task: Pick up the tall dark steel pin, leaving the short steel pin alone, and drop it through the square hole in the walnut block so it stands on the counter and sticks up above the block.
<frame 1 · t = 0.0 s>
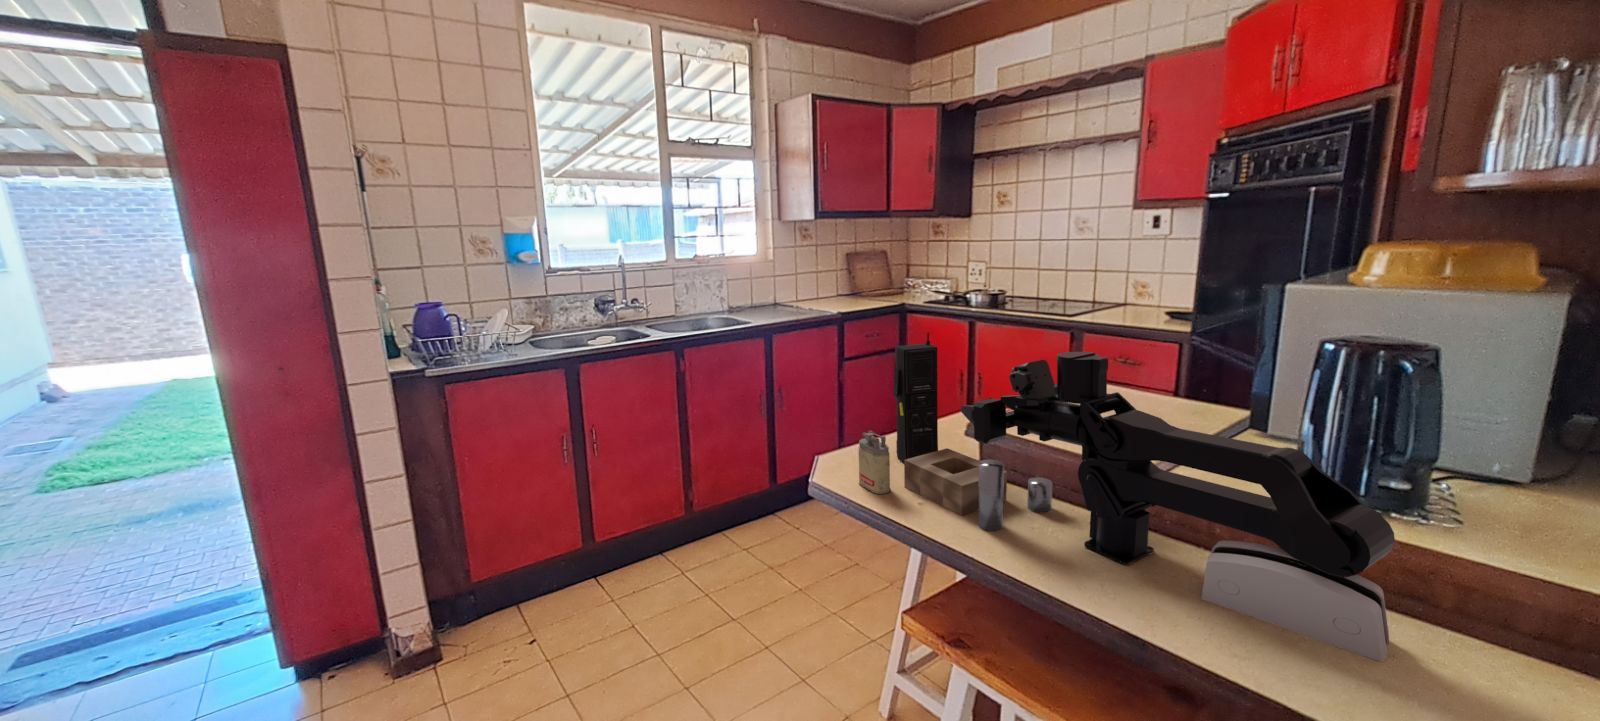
hand: (982, 404, 107), 15 cm above the counter, tool horizontal, fingers open, 9 cm apart
lighter: (875, 487, 113), on the counter
grey curved block: (1286, 625, 71), on the counter, touching arm
short pin: (1039, 508, 102), on the counter
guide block: (953, 493, 109), on the counter
portable radio: (914, 460, 125), on the counter
tall pin: (990, 525, 97), on the counter
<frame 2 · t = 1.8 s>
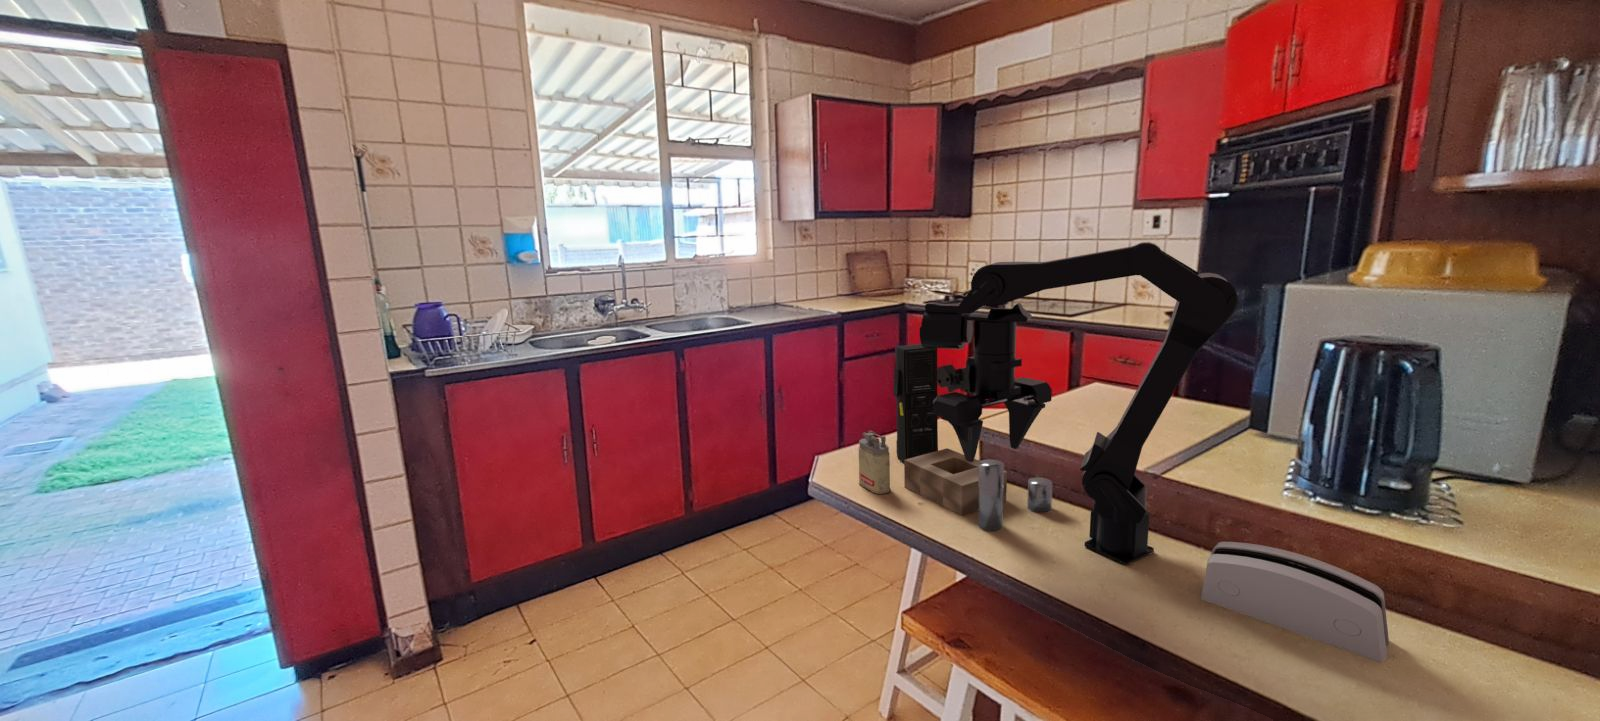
hand: (992, 454, 94), 11 cm above the counter, tool pointing down, fingers open, 9 cm apart
grey curved block: (1285, 626, 71), on the counter
everything else where it was.
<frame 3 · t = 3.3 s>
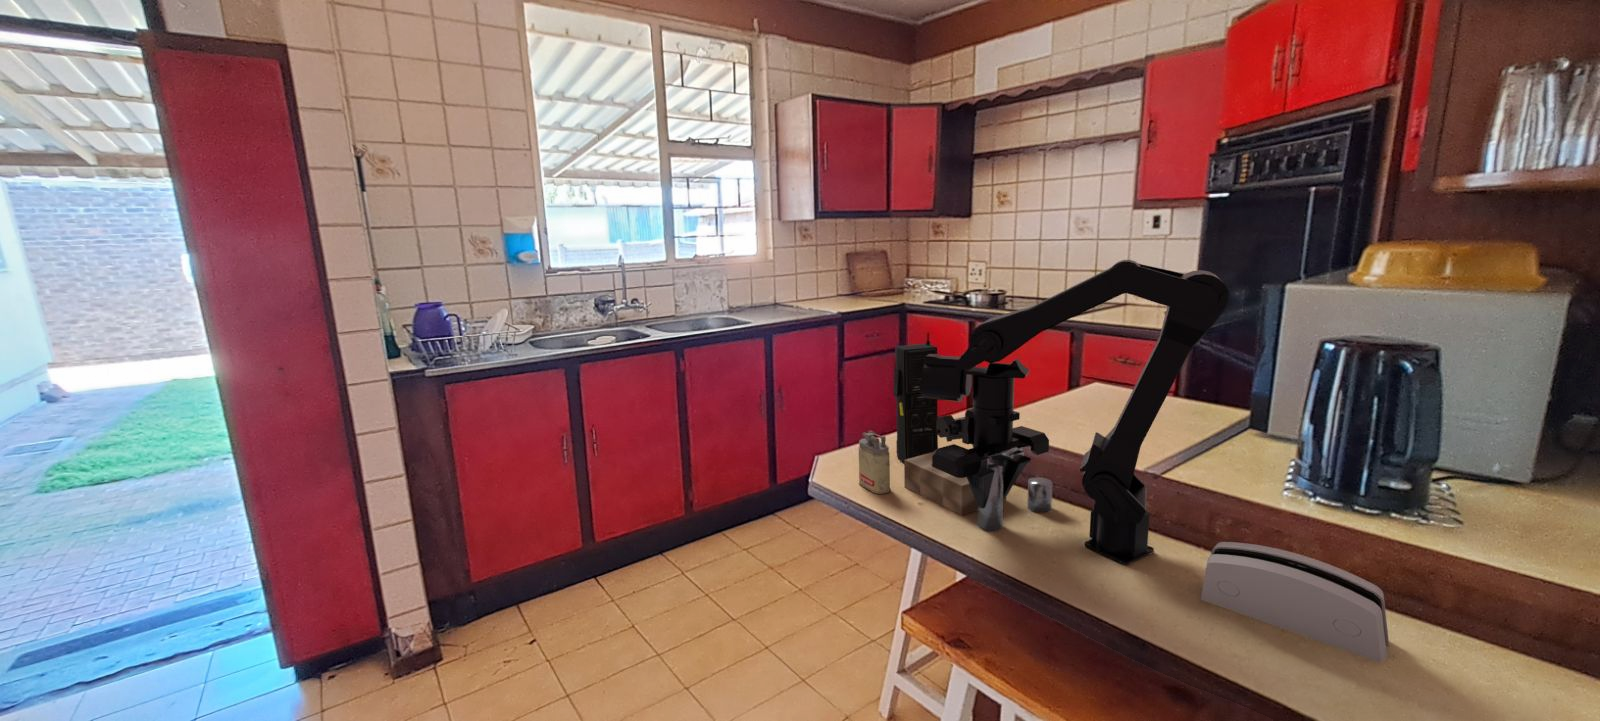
hand: (990, 504, 96), 4 cm above the counter, tool pointing down, fingers closed on tall pin, 4 cm apart
tall pin: (989, 525, 97), on the counter, touching gripper
everything else where it was.
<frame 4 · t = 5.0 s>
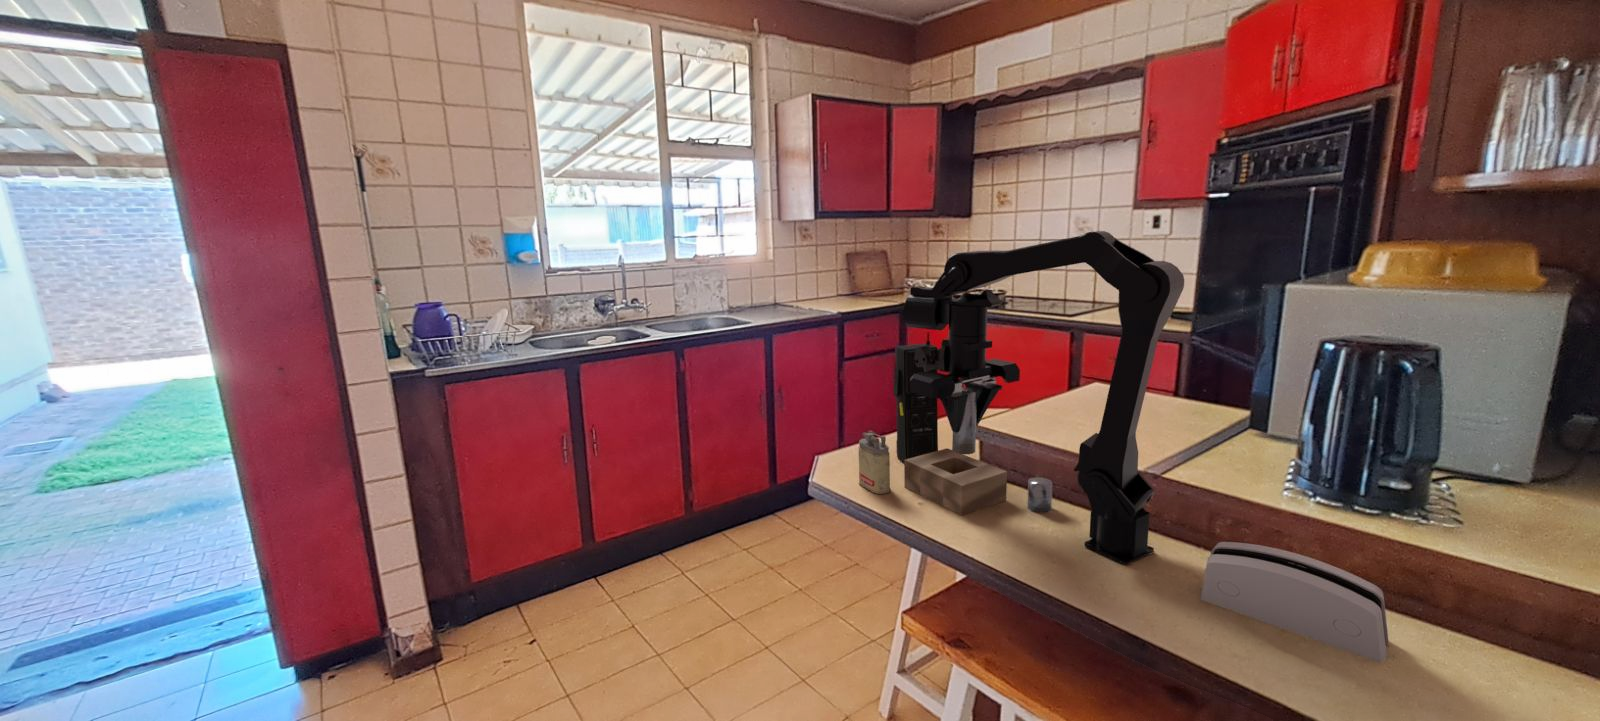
hand: (964, 429, 102), 13 cm above the counter, tool pointing down, fingers closed on tall pin, 4 cm apart
tall pin: (963, 450, 103), point 9 cm above the counter, touching gripper
everything else where it was.
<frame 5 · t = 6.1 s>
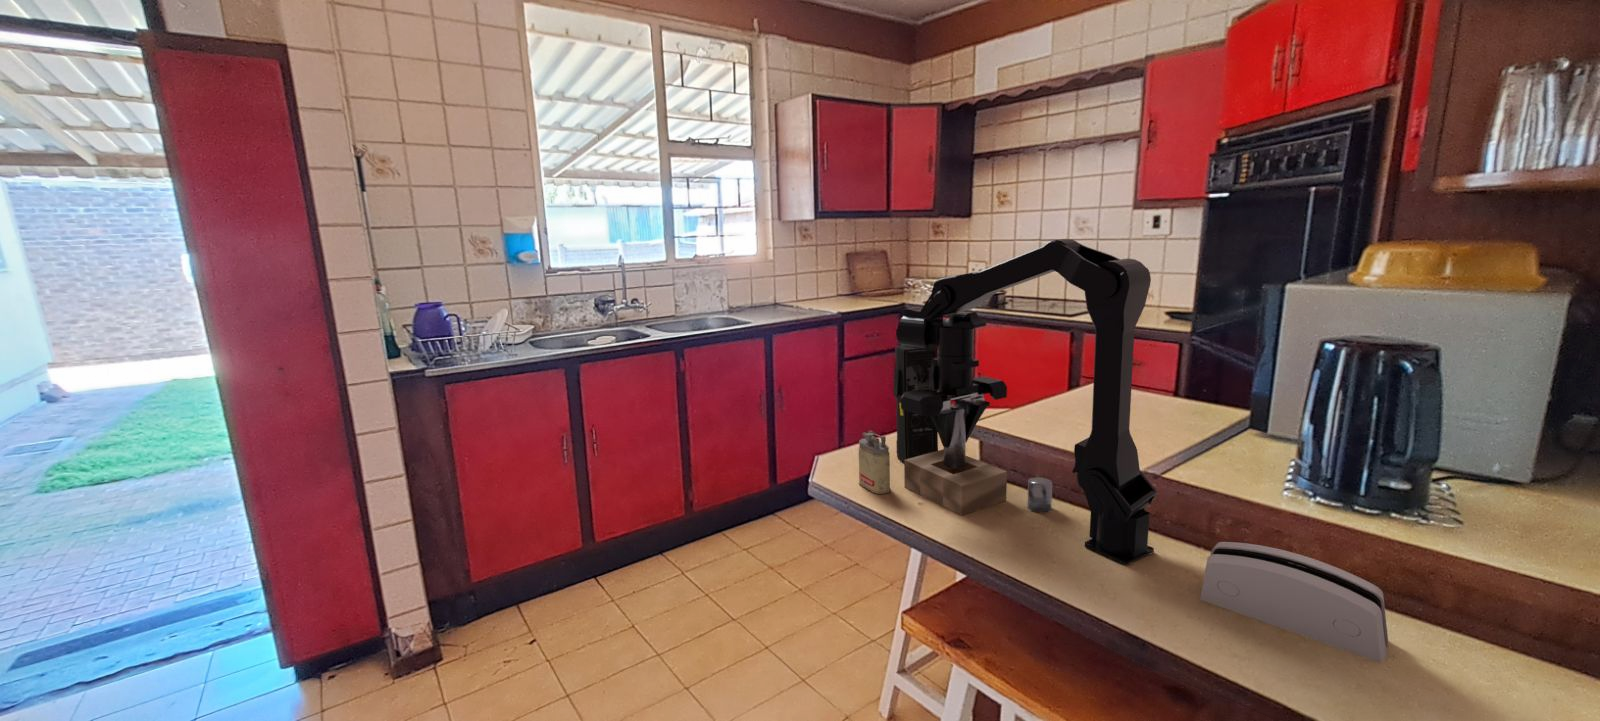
hand: (954, 444, 107), 9 cm above the counter, tool pointing down, fingers closed on tall pin, 4 cm apart
tall pin: (954, 464, 108), point 5 cm above the counter, touching gripper
everything else where it was.
when the fingers open (6 cm above the counter, at t = 7.0 s): tall pin drops 2 cm, resting in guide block.
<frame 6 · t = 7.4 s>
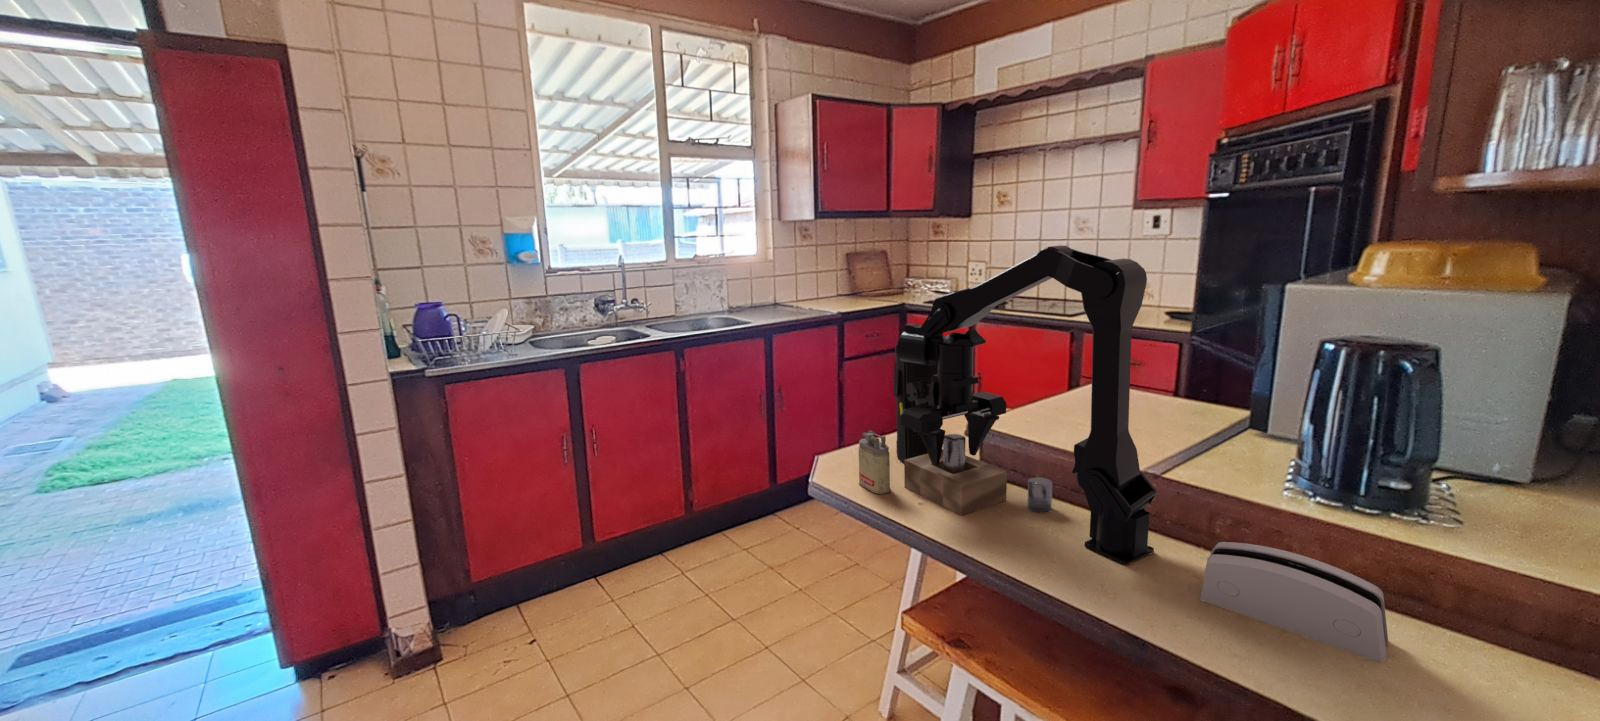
hand: (954, 460, 108), 6 cm above the counter, tool pointing down, fingers open, 8 cm apart
tall pin: (953, 493, 109), resting in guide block
everything else where it was.
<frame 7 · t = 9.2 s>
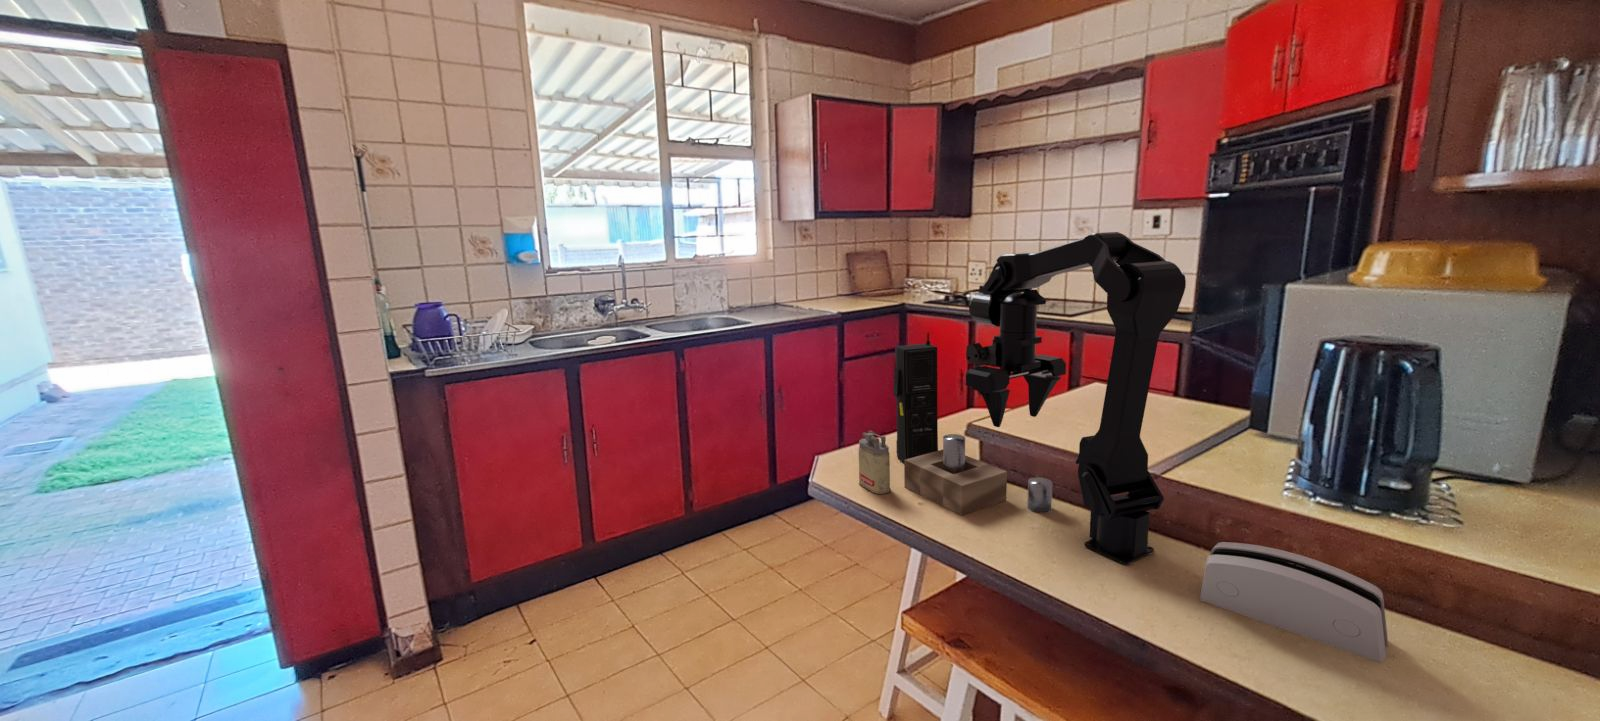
hand: (1015, 421, 108), 12 cm above the counter, tool pointing down, fingers open, 9 cm apart
nothing on the counter moved.
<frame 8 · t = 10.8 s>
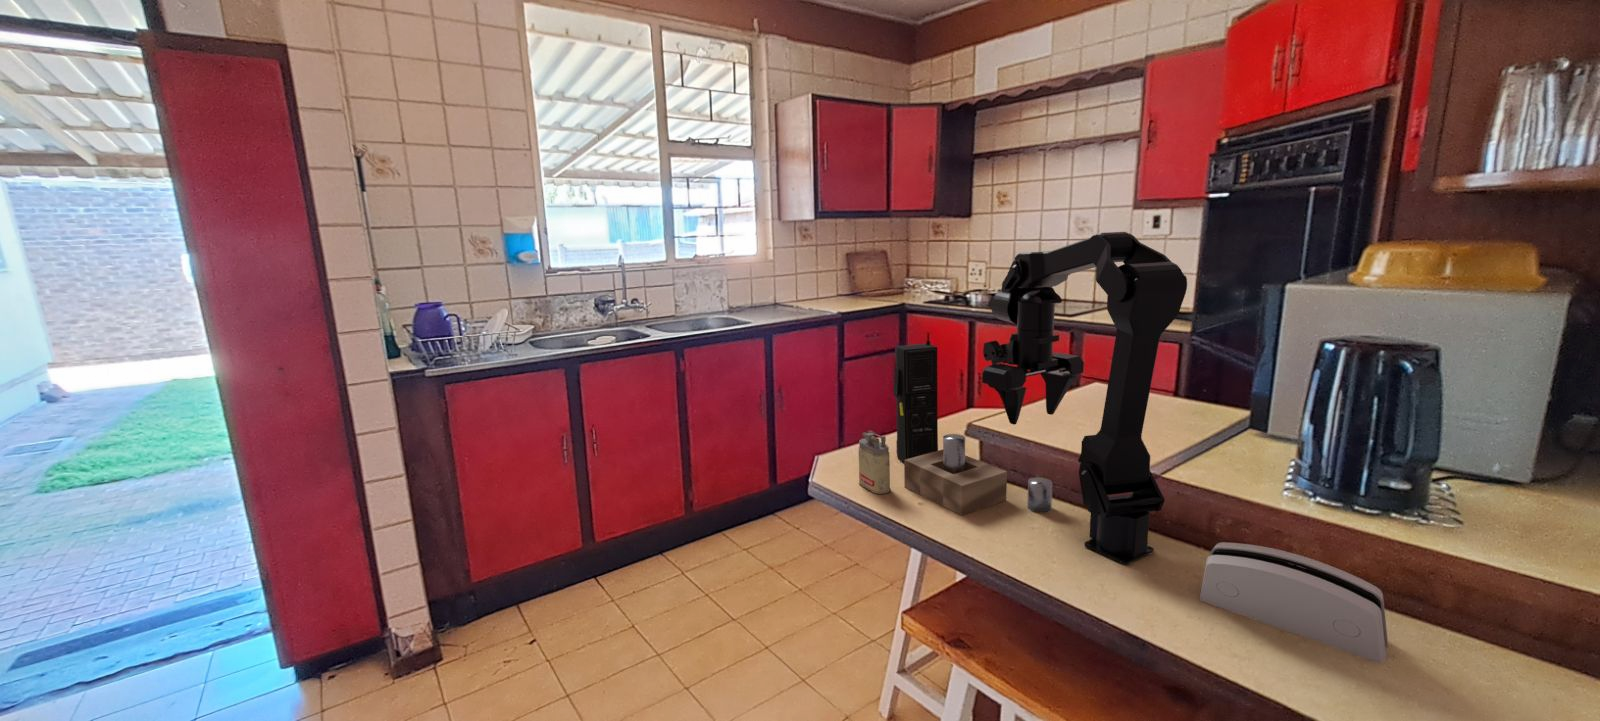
hand: (1031, 418, 108), 12 cm above the counter, tool pointing down, fingers open, 9 cm apart
nothing on the counter moved.
at the end: tall pin 0.0 cm off-centre on the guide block, point 0.0 cm above the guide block's base; tall pin tilted 0°; short pin moved 0.1 cm from its start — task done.
